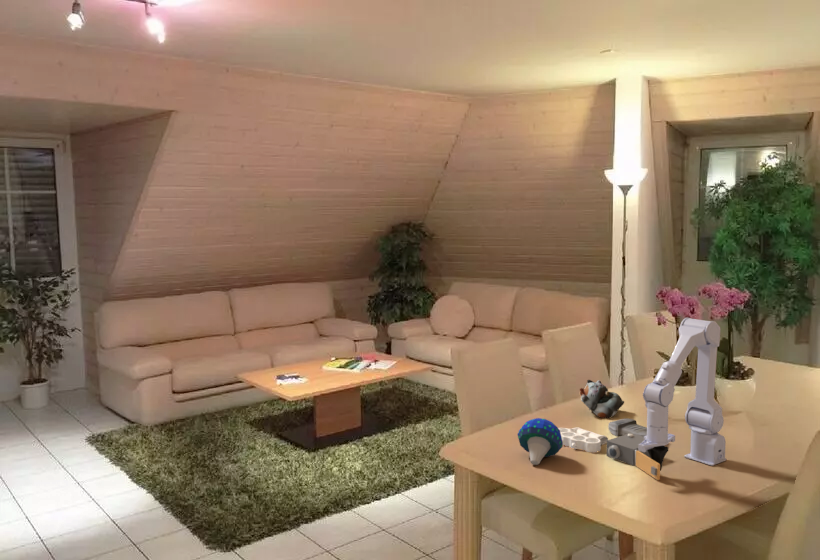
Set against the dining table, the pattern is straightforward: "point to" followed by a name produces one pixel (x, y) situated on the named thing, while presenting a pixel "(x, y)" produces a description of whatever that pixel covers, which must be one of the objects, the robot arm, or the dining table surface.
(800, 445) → the dining table surface
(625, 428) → the handheld device
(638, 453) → the side door
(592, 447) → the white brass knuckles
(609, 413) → the lucky cat figurine
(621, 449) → the grey box with knob
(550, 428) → the mushroom
